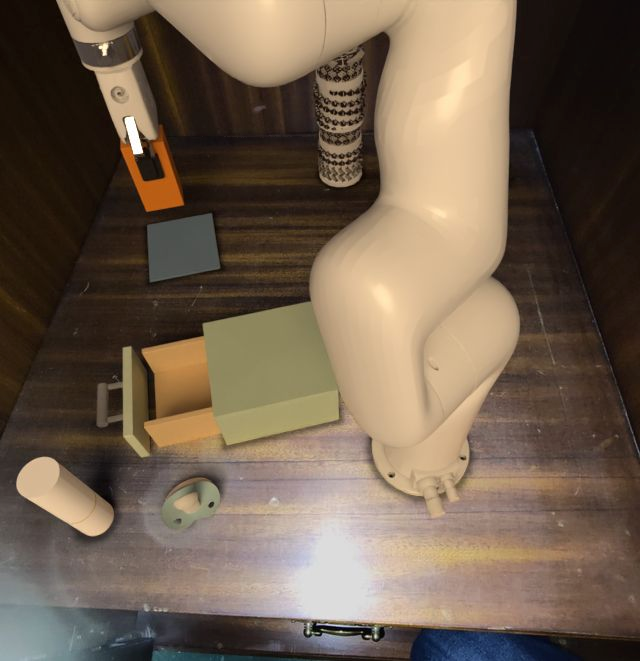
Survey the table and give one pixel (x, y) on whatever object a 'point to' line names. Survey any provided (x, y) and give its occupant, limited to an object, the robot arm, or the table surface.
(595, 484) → the table surface
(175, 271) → the mat
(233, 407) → the cabinet
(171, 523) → the pacifier
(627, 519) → the table surface
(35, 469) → the tube
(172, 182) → the orange rectangular block
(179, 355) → the drawer
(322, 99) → the decorative candle
